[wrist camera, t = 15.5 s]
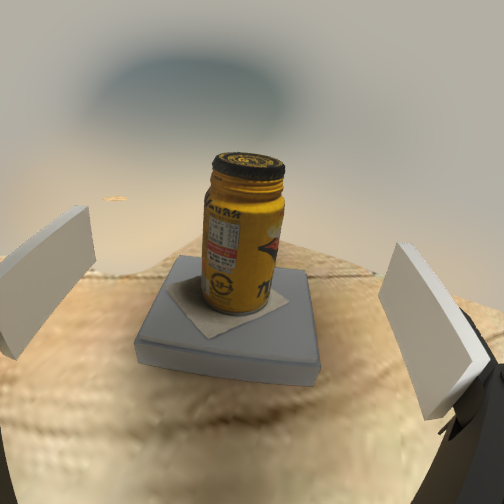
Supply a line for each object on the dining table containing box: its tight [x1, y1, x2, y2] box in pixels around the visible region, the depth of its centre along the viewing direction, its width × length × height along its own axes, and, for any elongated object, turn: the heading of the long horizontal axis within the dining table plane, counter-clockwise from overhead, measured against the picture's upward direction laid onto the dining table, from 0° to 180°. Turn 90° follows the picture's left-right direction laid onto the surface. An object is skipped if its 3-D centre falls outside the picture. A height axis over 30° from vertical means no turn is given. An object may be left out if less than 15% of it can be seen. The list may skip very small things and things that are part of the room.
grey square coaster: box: [134, 255, 321, 386], centre depth 27 cm, size 14×13×3 cm
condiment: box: [164, 152, 290, 339], centre depth 23 cm, size 7×8×12 cm
